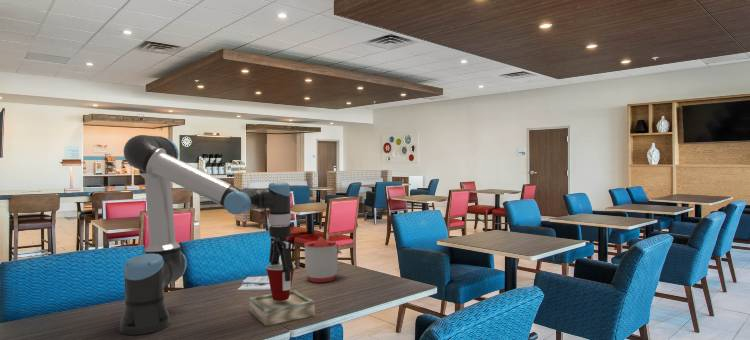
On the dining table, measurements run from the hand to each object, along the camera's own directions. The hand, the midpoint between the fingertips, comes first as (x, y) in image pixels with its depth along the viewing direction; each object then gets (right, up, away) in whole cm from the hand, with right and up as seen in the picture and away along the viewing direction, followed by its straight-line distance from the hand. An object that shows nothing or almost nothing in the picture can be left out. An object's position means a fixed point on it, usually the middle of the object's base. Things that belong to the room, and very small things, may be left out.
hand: (281, 286), depth 165 cm
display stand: (0, -10, 0) cm, 10 cm away
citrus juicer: (+10, -9, +47) cm, 48 cm away
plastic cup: (0, -5, 0) cm, 5 cm away
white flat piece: (-17, -10, +40) cm, 45 cm away
